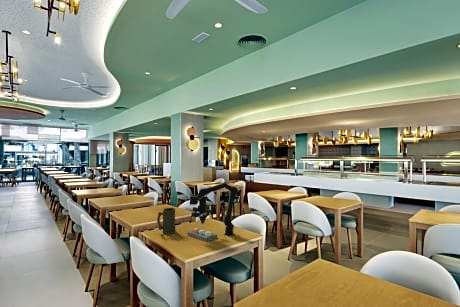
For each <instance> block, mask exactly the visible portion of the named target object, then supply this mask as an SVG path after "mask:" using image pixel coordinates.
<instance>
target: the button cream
mask: <svg viewBox="0 0 460 307" xmlns="http://www.w3.org/2000/svg"><path fill="white" fill-rule="evenodd" d="M211 233H212V231H208V232H205V236H207V237H209V236H211Z"/></svg>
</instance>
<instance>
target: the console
mask: <svg viewBox="0 0 460 307" xmlns="http://www.w3.org/2000/svg"><path fill="white" fill-rule="evenodd" d="M200 230H202V229H200ZM205 232H209V231H207V230H205ZM187 236H189V237H192V238H195V239H197V240H200V241H203V242H208V241H212V240H215V239H217V238H218V234H216V233H213V232H211V236H209V237H207V236H205V234H203V235H201V234H199V232H198V233H195V232H194V229H193V230H191V231H187Z"/></svg>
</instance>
